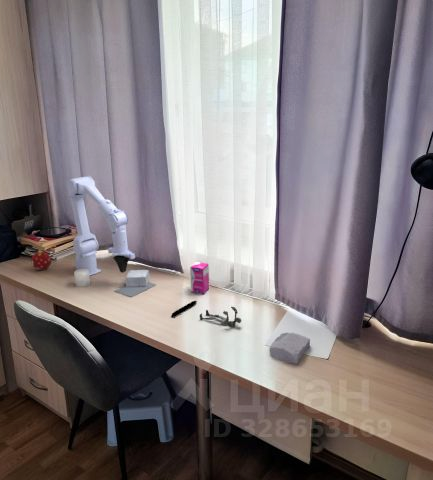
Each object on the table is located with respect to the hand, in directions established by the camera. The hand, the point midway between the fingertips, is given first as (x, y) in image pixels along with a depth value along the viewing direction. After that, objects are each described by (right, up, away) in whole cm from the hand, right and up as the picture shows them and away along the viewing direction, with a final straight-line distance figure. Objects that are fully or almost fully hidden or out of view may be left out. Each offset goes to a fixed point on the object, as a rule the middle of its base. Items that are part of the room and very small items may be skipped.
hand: (123, 271), depth 168 cm
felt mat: (+6, -7, -2) cm, 9 cm away
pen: (+28, -13, -21) cm, 37 cm away
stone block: (+61, -21, -47) cm, 80 cm away
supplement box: (+33, -8, -6) cm, 34 cm away
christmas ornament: (-43, -1, +20) cm, 47 cm away
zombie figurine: (+41, -16, -30) cm, 53 cm away
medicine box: (+1, -3, +2) cm, 4 cm away
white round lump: (-18, -6, +3) cm, 19 cm away
